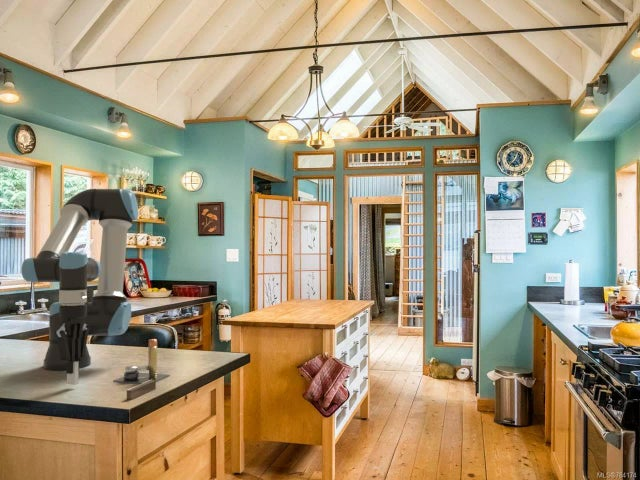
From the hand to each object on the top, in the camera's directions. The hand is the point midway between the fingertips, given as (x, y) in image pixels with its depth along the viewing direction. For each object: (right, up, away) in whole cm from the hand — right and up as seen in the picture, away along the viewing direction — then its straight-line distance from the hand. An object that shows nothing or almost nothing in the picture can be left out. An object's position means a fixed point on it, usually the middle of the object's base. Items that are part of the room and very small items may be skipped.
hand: (72, 383), depth 161 cm
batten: (+22, -1, -6) cm, 23 cm away
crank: (+17, +1, +11) cm, 20 cm away
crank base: (+17, -2, +12) cm, 21 cm away
